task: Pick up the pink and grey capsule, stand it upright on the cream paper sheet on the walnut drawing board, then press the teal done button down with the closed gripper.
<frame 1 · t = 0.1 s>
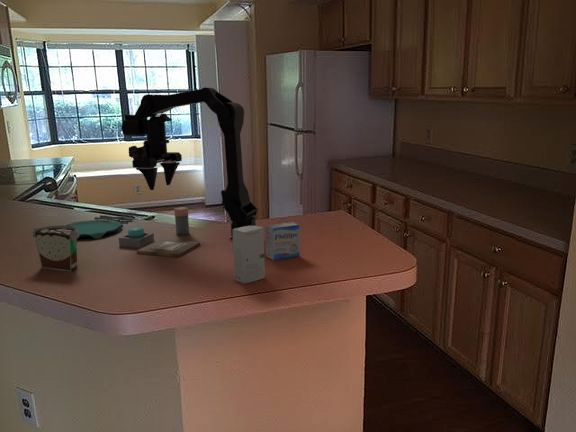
hand: (160, 187, 154), 14 cm above the table, fingers open, 9 cm apart
medicine box: (283, 257, 130), on the table
skincare box: (249, 279, 114), on the table
food container: (65, 266, 126), on the table
done button: (136, 233, 143), point 3 cm above the table, slide at 0.0 cm
drawing board: (169, 249, 138), on the table
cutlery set: (98, 230, 164), on the table
pink and grey capsule: (182, 233, 155), on the table
button housing: (137, 244, 144), on the table
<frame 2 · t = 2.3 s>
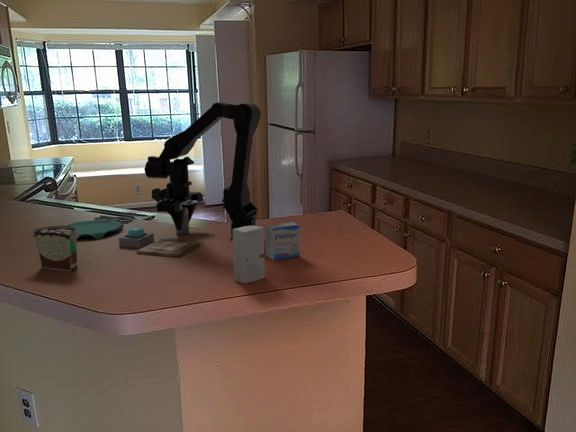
hand: (182, 228, 154), 2 cm above the table, fingers closed on pink and grey capsule, 4 cm apart
pink and grey capsule: (182, 233, 155), on the table, touching gripper
everything else where it was.
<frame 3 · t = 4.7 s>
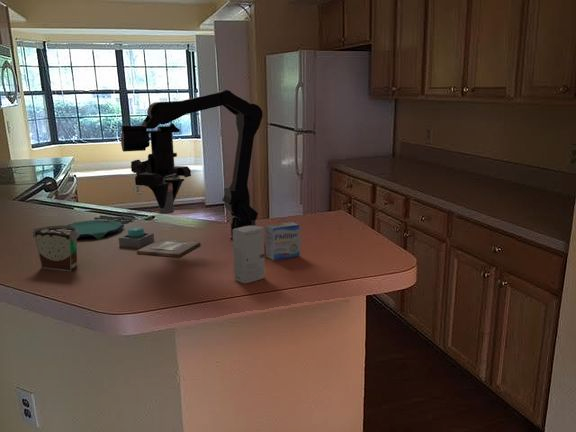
hand: (166, 206, 136), 12 cm above the table, fingers closed on pink and grey capsule, 4 cm apart
pink and grey capsule: (166, 212, 137), point 10 cm above the table, touching gripper
everything else where it was.
when the fingers open (4 cm above the table, at t = 7.1 s): pink and grey capsule stays where it is, resting on drawing board.
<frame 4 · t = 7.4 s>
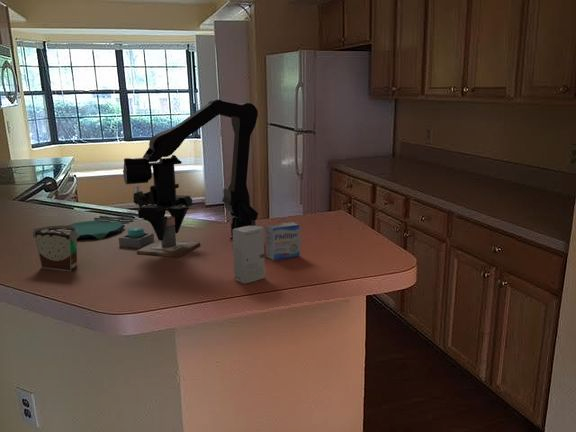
hand: (168, 236, 138), 4 cm above the table, fingers open, 8 cm apart
pink and grey capsule: (169, 245, 138), point 1 cm above the table, touching drawing board
everything else where it was.
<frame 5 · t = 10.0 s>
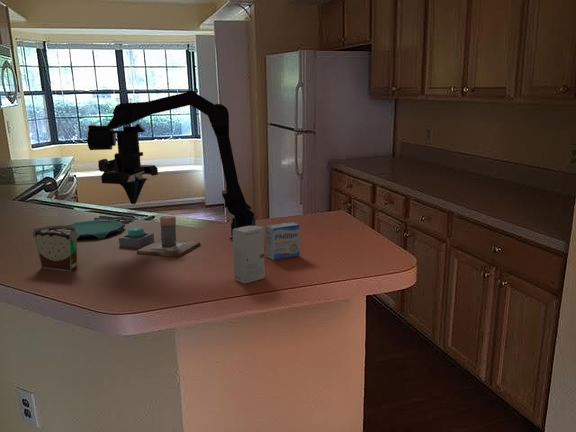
hand: (133, 203, 141), 12 cm above the table, fingers closed
nothing on the table moved.
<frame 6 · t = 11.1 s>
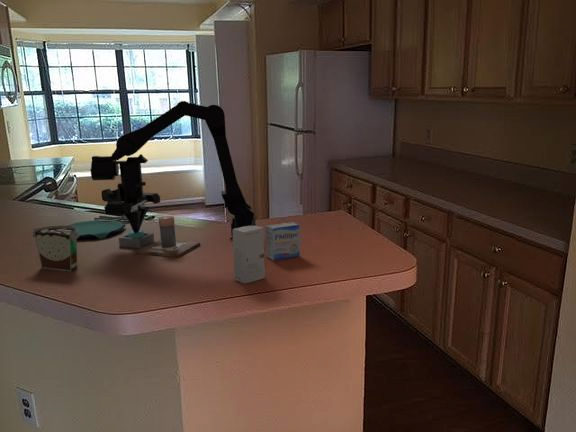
hand: (136, 232, 143), 3 cm above the table, fingers closed, pressing on done button
done button: (136, 236, 143), point 2 cm above the table, slide at 0.9 cm, touching gripper
everything else where it was.
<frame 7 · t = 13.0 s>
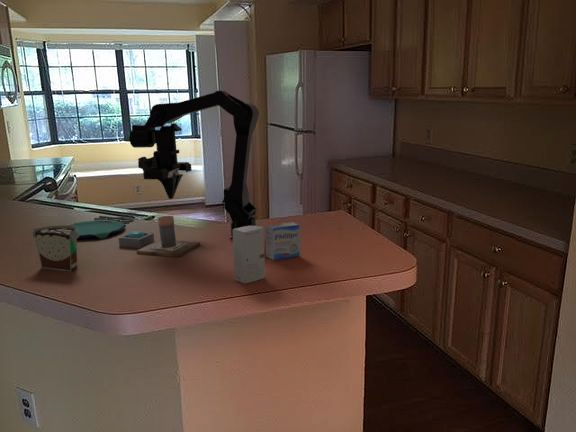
hand: (171, 198, 150), 12 cm above the table, fingers closed
done button: (136, 236, 143), point 2 cm above the table, slide at 1.0 cm
everything else where it was.
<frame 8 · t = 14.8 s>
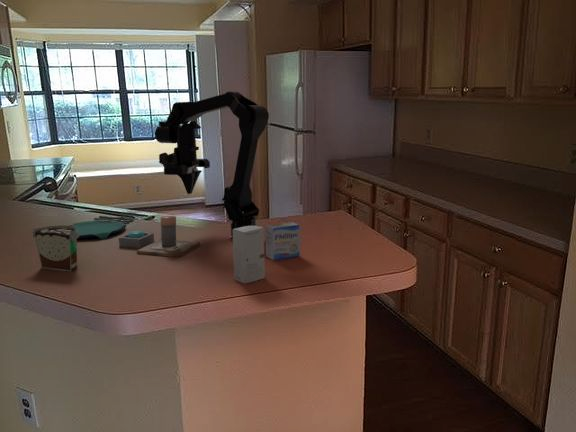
hand: (189, 193, 155), 12 cm above the table, fingers closed
at the end: pink and grey capsule 0.1 cm off-centre on the drawing board, point 1.1 cm above the drawing board's base; pink and grey capsule tilted 3°; done button slide at 1.0 cm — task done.
